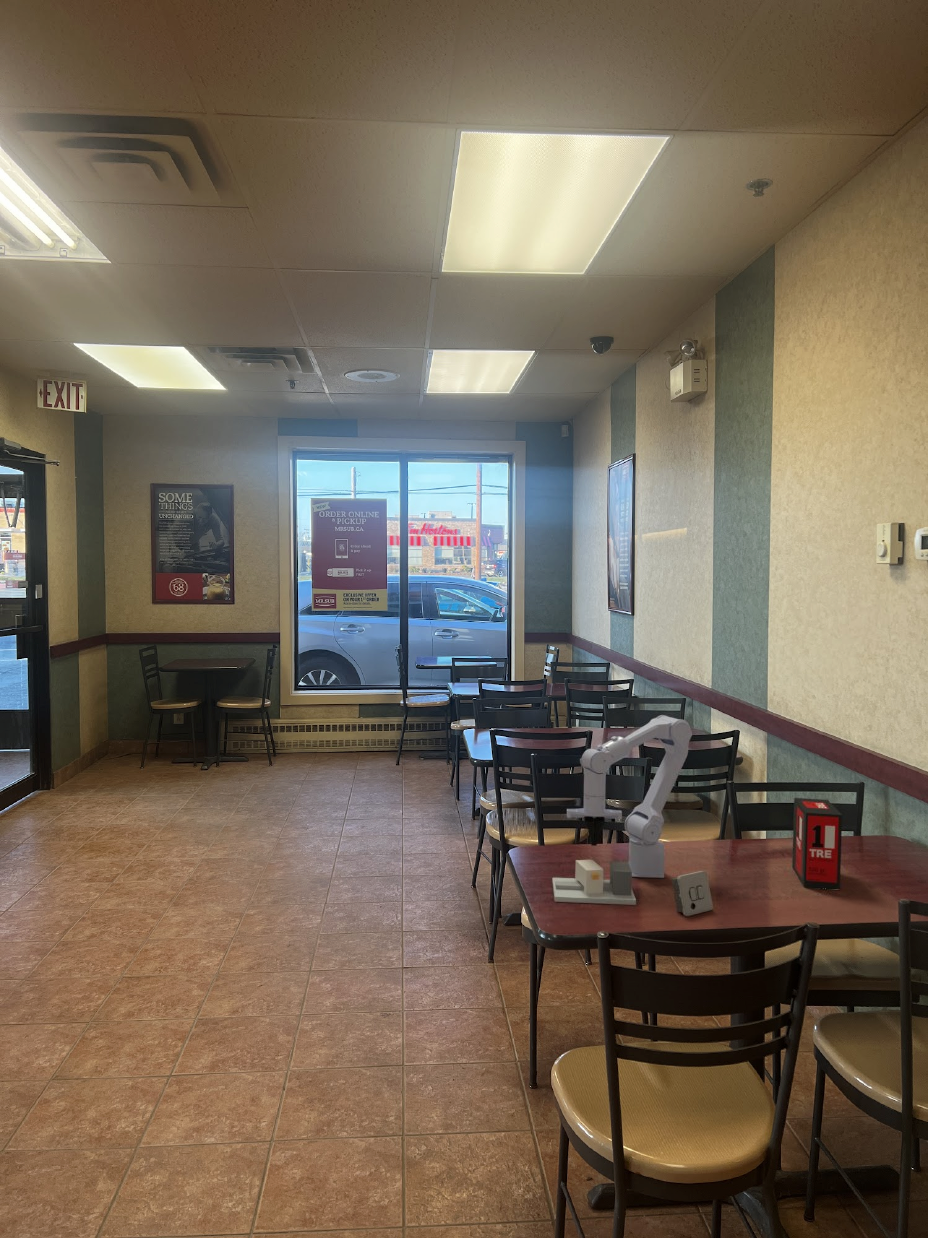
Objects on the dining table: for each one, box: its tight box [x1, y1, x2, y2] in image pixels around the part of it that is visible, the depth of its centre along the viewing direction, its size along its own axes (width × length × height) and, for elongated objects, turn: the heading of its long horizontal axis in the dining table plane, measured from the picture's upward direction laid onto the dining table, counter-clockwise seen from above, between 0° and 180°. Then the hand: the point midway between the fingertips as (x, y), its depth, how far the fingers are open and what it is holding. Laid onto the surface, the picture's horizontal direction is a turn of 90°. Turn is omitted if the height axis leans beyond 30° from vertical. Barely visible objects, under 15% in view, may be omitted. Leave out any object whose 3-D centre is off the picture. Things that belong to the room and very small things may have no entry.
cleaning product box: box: [791, 797, 843, 890], centre depth 225 cm, size 16×9×20 cm, turn 168°
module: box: [574, 858, 604, 894], centre depth 211 cm, size 4×9×6 cm, turn 12°
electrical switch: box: [671, 870, 714, 917], centre depth 201 cm, size 9×5×9 cm, turn 121°
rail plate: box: [551, 860, 637, 906], centre depth 211 cm, size 20×14×7 cm
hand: (593, 844), depth 221 cm, fingers closed
